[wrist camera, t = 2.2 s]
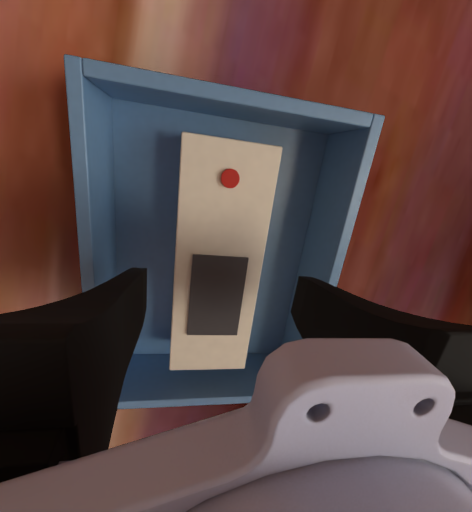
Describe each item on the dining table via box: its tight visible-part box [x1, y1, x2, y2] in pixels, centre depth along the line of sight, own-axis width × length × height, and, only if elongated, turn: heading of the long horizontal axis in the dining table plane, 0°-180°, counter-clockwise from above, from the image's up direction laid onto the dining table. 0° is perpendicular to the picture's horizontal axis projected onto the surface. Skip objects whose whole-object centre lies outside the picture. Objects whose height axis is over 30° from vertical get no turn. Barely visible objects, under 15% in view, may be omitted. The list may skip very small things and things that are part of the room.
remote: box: [169, 132, 283, 370], centre depth 16 cm, size 5×14×3 cm, turn 172°
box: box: [64, 54, 385, 409], centre depth 15 cm, size 13×17×4 cm
